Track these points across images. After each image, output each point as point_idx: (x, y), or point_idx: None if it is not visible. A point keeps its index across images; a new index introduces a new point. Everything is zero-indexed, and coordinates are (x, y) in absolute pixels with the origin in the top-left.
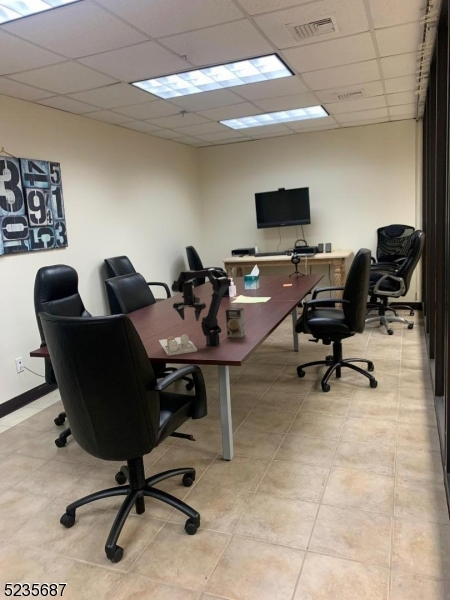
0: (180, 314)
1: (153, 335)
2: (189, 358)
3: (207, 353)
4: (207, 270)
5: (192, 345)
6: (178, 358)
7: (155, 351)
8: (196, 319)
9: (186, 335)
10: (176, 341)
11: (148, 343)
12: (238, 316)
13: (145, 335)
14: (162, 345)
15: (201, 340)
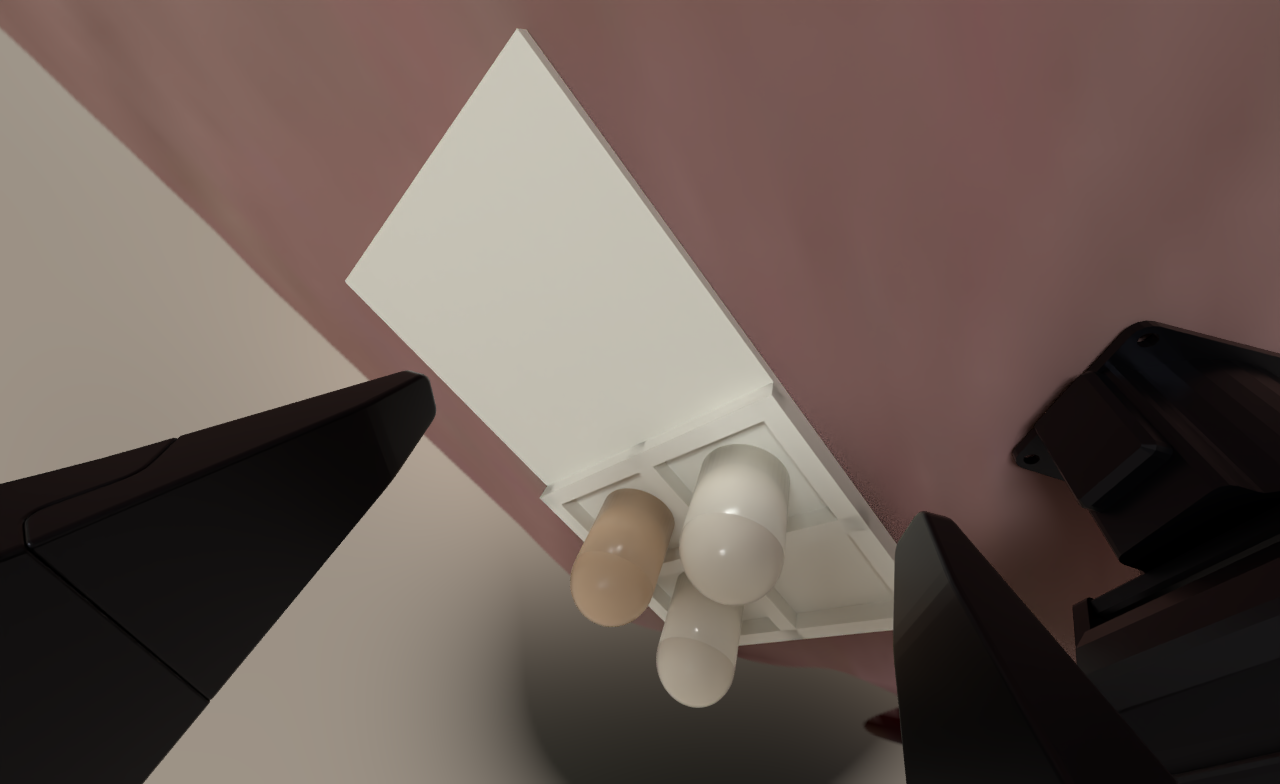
0: (268, 603)
1: (96, 37)
2: (888, 684)
3: (1061, 639)
4: None
5: (845, 526)
6: (795, 665)
7: (543, 528)
8: (909, 630)
9: (758, 593)
10: (721, 688)
11: (336, 348)
12: None
13: (40, 61)
14: (507, 439)
15: (886, 181)
